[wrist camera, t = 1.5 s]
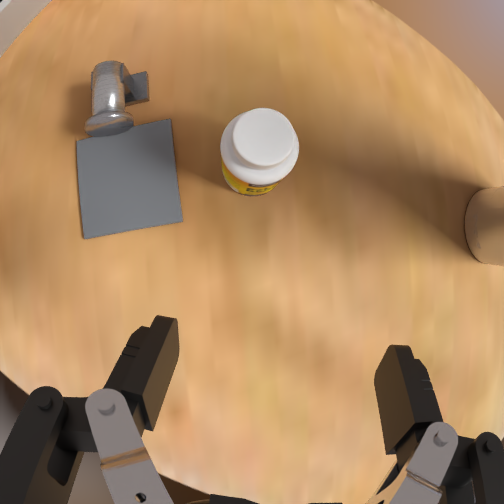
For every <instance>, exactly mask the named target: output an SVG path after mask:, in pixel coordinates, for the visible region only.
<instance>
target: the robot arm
mask: <svg viewBox="0 0 504 504" xmlns="http://www.w3.org/2000/svg"><path fill="white" fill-rule="evenodd" d="M465 233H466V239H467V242H468V246H469V248H470V250H471V252H472V254H473V255H474V256H475V258H476V259H478V260H479V261H480V262H482V263H484V264H491V265H499V266H504V186H501V187H495V188H488V189H482V190H480V191H478V192H477V193H476V194H474V195H473V197H472V198H471V200H470V202H469V204H468V207H467V211H466V215H465ZM178 356H179V335H178V322H177V319H176V318H170V317H165V316H159V315H157V316H156V317H155V318H154V320H153V322H152V324H151V326H150V328H149V327H144V326H141V327H140V328H139V329H137V330H136V331H135V332H134V333H133V334H131V336H130V338H129V340H128V342H127V344H126V347H125V348H124V350H123V351H122V355H120V357H119V359H118V361H117V363H116V365H115V367H114V369H113V371H112V373H111V375H110V377H109V379H108V381H107V382H106V384H105V386H104V387H103V389H100V390H97V391H95V392H93V393H92V394H91V395H90V396H89V397H83V398H79V397H62V395H61V393H60V392H59V391H58V390H57V389H55V388H53V387H50V386H43V387H39V388H37V389H35V390H34V391H33V392H32V393H31V394H30V396H29V397H28V399H27V401H26V403H25V405H24V407H23V409H22V411H21V413H20V415H19V416H18V418H17V421H16V423H15V425H14V426H13V429H12V431H11V433H10V435H9V437H8V439H7V441H6V443H5V446H4V448H3V450H2V452H1V454H0V504H67V503H68V500H69V497H70V493H71V490H72V487H73V484H74V481H75V478H76V475H77V472H78V469H79V466H80V463H81V460H82V457H83V455H84V452H99V455H100V458H101V469H102V472H103V475H104V478H105V480H106V483H107V486H108V488H109V491H110V493H111V495H112V498H113V501H114V503H115V504H174V503H173V502H172V500H171V498H170V496H169V494H168V492H167V490H166V488H165V487H164V485H163V483H162V481H161V479H160V477H159V475H158V473H157V471H156V469H155V467H154V464H153V462H152V460H151V458H150V456H149V454H148V452H147V450H146V448H145V446H144V443H143V441H142V439H141V437H142V434H143V431H144V429H146V430H150V431H153V430H154V427H155V424H156V421H157V418H158V415H159V412H160V409H161V407H162V404H163V401H164V398H165V395H166V392H167V389H168V386H169V384H170V381H171V378H172V375H173V372H174V370H175V367H176V364H177V361H178ZM374 386H375V391H376V396H377V402H378V407H379V413H380V419H381V425H382V431H383V438H384V444H385V451H386V455H390V454H396V456H397V460H396V461H395V462H394V464H393V465H392V467H391V468H390V470H389V472H388V473H387V475H386V476H385V478H384V479H383V481H382V482H381V484H380V485H379V487H378V488H377V490H376V491H375V492H374V494H373V495H372V497H371V498H370V499H369V500H368V501H367V502H366V503H365V504H438V502H440V504H504V449H503V446H502V443H501V441H500V439H499V438H498V437H497V436H496V435H495V434H493V433H491V432H484V433H482V434H480V435H479V436H478V437H477V438H476V439H472V438H467V437H462V436H458V435H457V433H456V431H455V430H454V428H453V427H452V426H450V425H449V424H447V423H444V422H443V419H442V416H441V412H440V409H439V406H438V402H437V399H436V396H435V393H434V390H433V387H432V384H431V382H430V378H429V375H428V372H427V369H426V368H425V366H424V365H423V364H422V362H421V361H420V360H419V359H414V356H413V353H412V350H411V348H410V347H409V346H407V345H390V346H389V347H388V349H387V351H386V353H385V355H384V357H383V359H382V360H381V362H380V364H379V366H378V368H377V370H376V373H375V378H374ZM472 480H473V484H474V491H475V497H476V503H474V496H473V490H472V483H471V481H472ZM186 504H258V503H255V502H252V501H249V500H246V499H243V498H235V497H228V496H221V495H215V494H211V495H210V500H200V501H194V502H190V503H186ZM309 504H342V503H309Z"/></svg>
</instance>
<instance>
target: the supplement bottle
mask: <svg viewBox="0 0 504 504" xmlns="http://www.w3.org/2000/svg"><path fill="white" fill-rule="evenodd" d="M220 151H221V163H222V172H223V176H224V178H225V180H226V182H227V184H228V185H229V186H230V187H231V188H232V189H233V190H234V191H236V192H238V193H240V194H242V195H246V196H259V195H263V194H265V193H267V192H269V191H270V190H272V189H273V188H274V187H275V186H276V185H277V184H278V183H279V182H280V181H281V180H282V179H283V178H284V177H285V176H286V175H287V174H288V173H289V172H290V171H291V170H292V168H293V167H294V165H295V163H296V161H297V158H298V154H299V142H298V138H297V135H296V133H295V131H294V129H293V127H292V125H291V123H290V122H289V120H288V119H287V118H286V117H285V116H284V115H283V114H281V113H280V112H278V111H276V110H273V109H269V108H256V109H252V110H250V111H247V112H244V113H242V114H240V115H238V116H236V117H235V118H234V119H233V120H231V121H230V122H229V124H228V125H227V126H226V128H225V130H224V132H223V134H222V138H221V144H220Z"/></svg>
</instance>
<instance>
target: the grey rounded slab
mask: <svg viewBox="0 0 504 504" xmlns="http://www.w3.org/2000/svg"><path fill="white" fill-rule="evenodd" d="M51 1H52V0H0V58H1V56H2V55H3V54H4V53H5V51H6V50H7V49H8V48H9V46H10V45H11V44H12V43H13V42H14V40H15V39H16V38H17V37H18V36H19V34H20V33H21V32H22V31H23V30H24V29H25V28H26V27H27V25H28V24H29V23H30V22H31V21H32V20H33V19H34V18H35V17H36V16H37V15H38V14H39V13H40V12H41V11H42V10H43V9H44V8H45V7H46V6H47V5H48V4H49V3H50V2H51Z"/></svg>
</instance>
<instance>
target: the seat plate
mask: <svg viewBox="0 0 504 504" xmlns="http://www.w3.org/2000/svg"><path fill="white" fill-rule="evenodd" d="M77 165H78V182H79V195H80V206H81V215H82V224H83V232H84V239H89V238H94V237H100V236H105V235H110V234H115V233H121V232H126V231H132V230H137V229H143V228H149V227H155V226H160V225H166V224H172V223H178V222H183V217H182V210H181V203H180V195H179V188H178V180H177V171H176V163H175V154H174V145H173V136H172V126H171V119H166V120H161V121H156V122H152V123H147V124H142V125H138V126H133V127H132V128H131V129H130V130H128V131H126V132H124V133H121V134H118V135H113V136H105V137H97V136H94V137H90V138H86V139H83V140H79V141H77Z"/></svg>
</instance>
